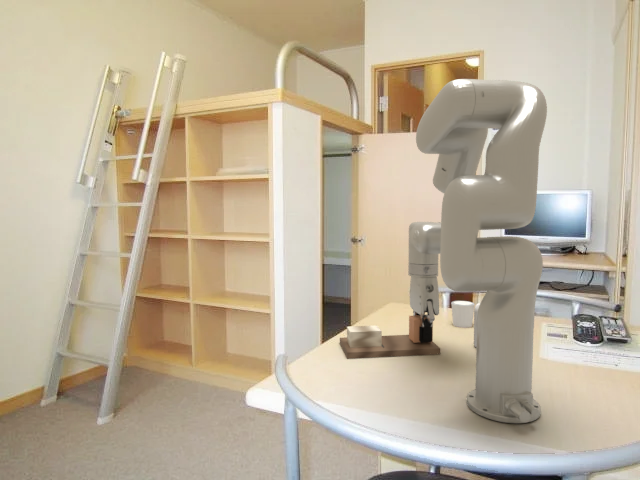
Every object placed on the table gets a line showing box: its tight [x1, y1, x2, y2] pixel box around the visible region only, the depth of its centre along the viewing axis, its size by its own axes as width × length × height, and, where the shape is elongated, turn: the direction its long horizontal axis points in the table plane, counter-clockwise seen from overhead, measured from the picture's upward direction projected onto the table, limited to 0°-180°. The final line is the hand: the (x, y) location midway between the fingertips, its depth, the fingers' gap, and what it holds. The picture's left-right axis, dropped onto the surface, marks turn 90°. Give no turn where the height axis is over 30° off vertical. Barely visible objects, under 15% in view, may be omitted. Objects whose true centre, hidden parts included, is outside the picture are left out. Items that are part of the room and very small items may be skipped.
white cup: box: [450, 300, 476, 329], centre depth 136 cm, size 7×7×7 cm
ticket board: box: [339, 324, 441, 360], centre depth 115 cm, size 24×12×6 cm, turn 96°
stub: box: [408, 315, 434, 343], centre depth 115 cm, size 5×4×6 cm
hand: (422, 338), depth 116 cm, fingers closed on stub, 4 cm apart
